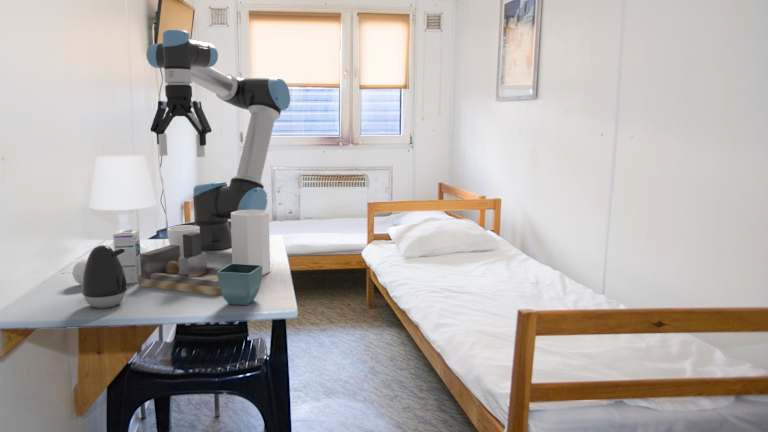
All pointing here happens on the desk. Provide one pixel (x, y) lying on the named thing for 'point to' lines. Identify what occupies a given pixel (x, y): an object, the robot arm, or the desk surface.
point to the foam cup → (180, 235)
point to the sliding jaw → (192, 256)
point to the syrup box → (129, 253)
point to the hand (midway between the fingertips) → (182, 156)
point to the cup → (251, 238)
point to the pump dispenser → (104, 278)
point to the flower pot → (240, 283)
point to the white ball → (79, 271)
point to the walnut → (172, 267)
